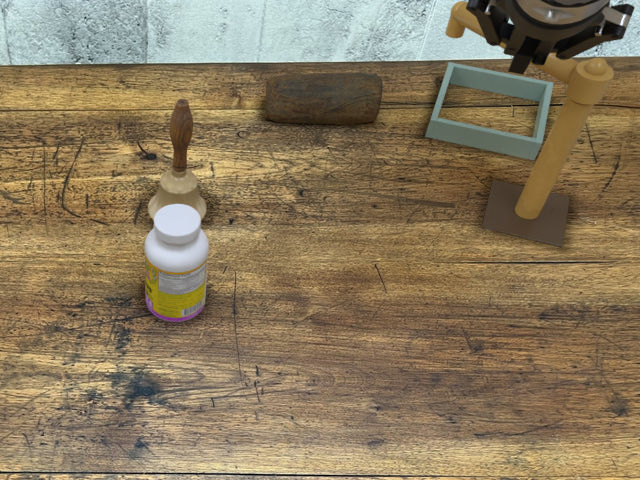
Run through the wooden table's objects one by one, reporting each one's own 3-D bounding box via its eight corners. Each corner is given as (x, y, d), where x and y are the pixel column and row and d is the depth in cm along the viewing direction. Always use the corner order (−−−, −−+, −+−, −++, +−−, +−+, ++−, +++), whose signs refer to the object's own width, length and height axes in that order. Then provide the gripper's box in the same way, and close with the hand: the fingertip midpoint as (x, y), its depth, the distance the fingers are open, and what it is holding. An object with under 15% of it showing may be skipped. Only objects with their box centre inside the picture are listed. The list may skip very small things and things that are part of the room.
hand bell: (218, 198, 102) (227, 84, 89) (201, 243, 97) (208, 130, 84) (154, 186, 103) (154, 73, 90) (134, 230, 99) (131, 117, 86)
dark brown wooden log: (368, 102, 112) (379, 57, 107) (377, 134, 108) (389, 89, 103) (259, 104, 113) (264, 60, 107) (264, 136, 109) (269, 92, 103)
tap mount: (566, 204, 99) (631, 81, 86) (558, 253, 95) (626, 132, 81) (489, 186, 102) (541, 64, 88) (478, 234, 97) (531, 112, 83)
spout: (604, 106, 85) (627, 61, 81) (582, 119, 84) (604, 74, 80) (457, 24, 95) (471, -21, 90) (435, 34, 94) (449, -10, 89)
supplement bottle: (151, 279, 94) (151, 192, 83) (208, 287, 93) (215, 200, 83) (140, 323, 90) (138, 237, 80) (199, 331, 89) (205, 246, 79)
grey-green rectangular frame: (543, 105, 111) (553, 82, 108) (531, 166, 104) (542, 143, 101) (441, 85, 114) (449, 61, 111) (422, 142, 107) (430, 119, 104)
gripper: (458, 9, 64) (442, 82, 86) (638, 45, 60) (573, 111, 83) (494, -93, 62) (468, 8, 84) (680, -62, 59) (602, 35, 81)
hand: (520, 59), depth 83 cm, fingers closed
